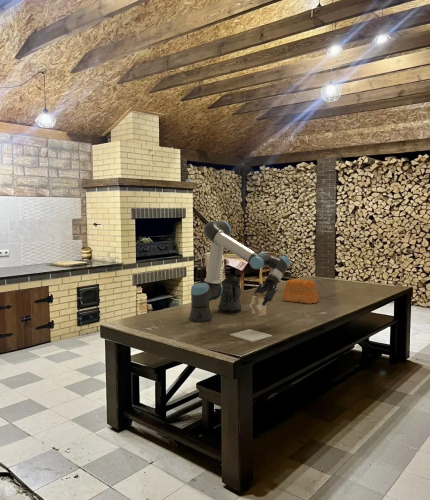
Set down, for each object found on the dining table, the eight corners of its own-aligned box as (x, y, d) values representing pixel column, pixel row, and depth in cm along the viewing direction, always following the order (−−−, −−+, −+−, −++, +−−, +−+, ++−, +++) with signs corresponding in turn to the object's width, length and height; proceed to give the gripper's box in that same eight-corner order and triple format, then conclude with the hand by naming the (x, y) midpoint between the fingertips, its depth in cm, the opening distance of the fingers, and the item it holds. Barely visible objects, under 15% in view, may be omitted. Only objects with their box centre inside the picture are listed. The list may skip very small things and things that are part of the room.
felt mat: (229, 335, 251) (229, 334, 251) (249, 330, 262) (249, 329, 261) (252, 342, 238) (252, 340, 237) (272, 336, 248) (272, 335, 248)
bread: (312, 304, 330) (312, 282, 329) (281, 301, 345) (281, 279, 344) (320, 301, 343) (320, 279, 342) (289, 297, 358) (289, 276, 357)
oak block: (251, 313, 261) (252, 293, 259) (258, 312, 265) (259, 292, 263) (259, 315, 256) (259, 295, 255) (266, 314, 260) (266, 294, 259)
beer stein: (225, 307, 324) (225, 273, 322) (249, 310, 314) (249, 275, 312) (214, 312, 310) (213, 276, 308) (238, 315, 300) (238, 278, 298)
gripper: (289, 283, 262) (270, 315, 252) (265, 279, 276) (246, 309, 267) (283, 275, 258) (263, 307, 248) (259, 272, 272) (240, 301, 263)
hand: (254, 308), depth 258 cm, fingers closed on oak block, 6 cm apart
